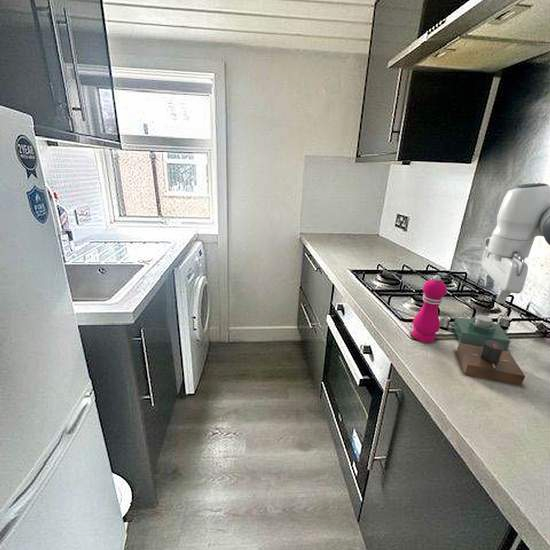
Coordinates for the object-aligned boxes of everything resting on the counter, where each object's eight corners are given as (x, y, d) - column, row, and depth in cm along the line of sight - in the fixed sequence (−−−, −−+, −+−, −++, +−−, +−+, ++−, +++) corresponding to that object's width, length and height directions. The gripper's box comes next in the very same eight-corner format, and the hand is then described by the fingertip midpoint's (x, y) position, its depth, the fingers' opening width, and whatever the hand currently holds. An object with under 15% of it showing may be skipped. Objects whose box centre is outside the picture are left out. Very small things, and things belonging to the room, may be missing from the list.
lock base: (506, 361, 81) (510, 351, 80) (521, 386, 72) (525, 375, 71) (456, 351, 84) (459, 342, 83) (464, 374, 76) (467, 363, 74)
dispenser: (495, 332, 94) (500, 318, 93) (507, 350, 86) (512, 335, 84) (452, 325, 98) (456, 311, 96) (459, 342, 89) (463, 327, 87)
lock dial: (478, 351, 79) (483, 337, 78) (496, 355, 78) (501, 341, 77) (482, 360, 76) (487, 346, 74) (501, 364, 75) (506, 350, 73)
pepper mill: (410, 340, 89) (424, 277, 82) (410, 328, 96) (423, 269, 88) (437, 346, 87) (454, 282, 79) (435, 333, 93) (450, 273, 86)
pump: (488, 322, 91) (489, 316, 91) (492, 328, 88) (494, 322, 87) (473, 319, 92) (474, 313, 92) (476, 326, 89) (478, 320, 88)
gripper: (542, 260, 69) (522, 313, 74) (508, 239, 87) (494, 283, 92) (510, 257, 71) (492, 309, 76) (483, 237, 89) (471, 280, 94)
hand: (493, 294), depth 84 cm, fingers open, 8 cm apart
